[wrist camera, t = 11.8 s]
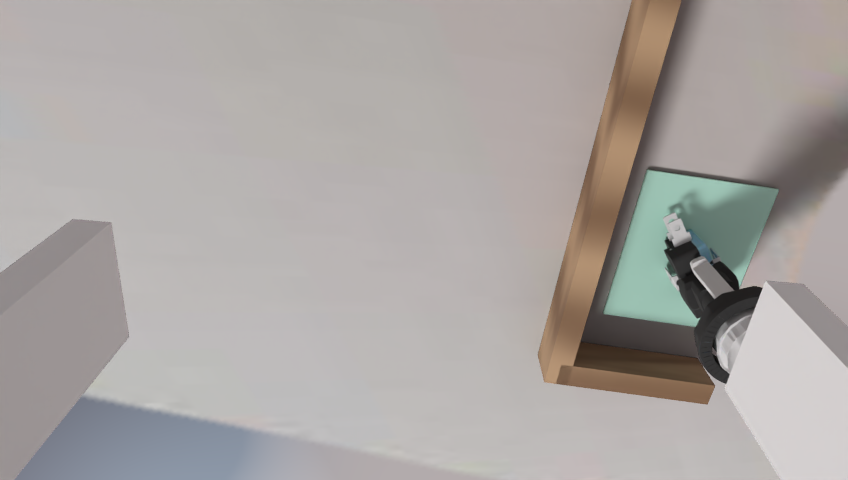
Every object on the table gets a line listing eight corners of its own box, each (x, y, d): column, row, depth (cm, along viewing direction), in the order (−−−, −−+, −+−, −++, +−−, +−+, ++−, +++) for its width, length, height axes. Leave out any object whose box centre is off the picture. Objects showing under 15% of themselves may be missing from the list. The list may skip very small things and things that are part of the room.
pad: (647, 169, 36) (648, 170, 36) (777, 188, 37) (779, 189, 36) (603, 312, 40) (603, 314, 40) (720, 328, 41) (721, 330, 41)
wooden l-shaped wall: (637, -21, 32) (655, -20, 29) (834, 10, 33) (871, 14, 30) (537, 354, 42) (544, 382, 39) (690, 376, 42) (707, 404, 40)
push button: (625, 229, 38) (683, 313, 29) (709, 191, 37) (798, 266, 28) (662, 312, 40) (727, 414, 31) (743, 278, 39) (834, 373, 30)
